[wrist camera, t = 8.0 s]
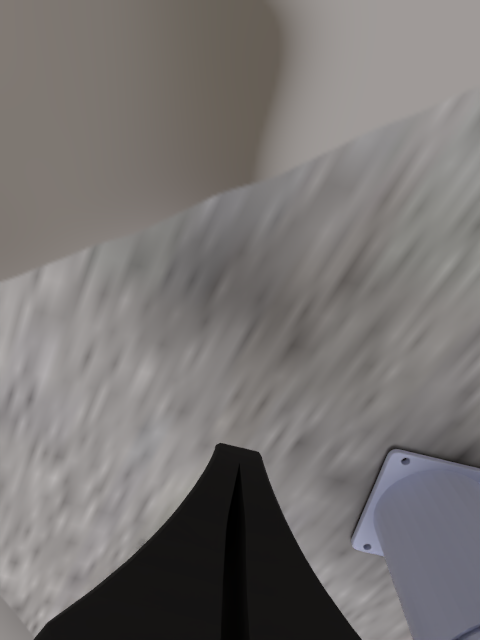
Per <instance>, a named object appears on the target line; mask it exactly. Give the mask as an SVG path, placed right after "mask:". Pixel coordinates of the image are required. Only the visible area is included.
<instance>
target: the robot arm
mask: <svg viewBox="0 0 480 640" xmlns="http://www.w3.org/2000/svg"><path fill="white" fill-rule="evenodd" d="M404 458H407V459H406V460H405V461H401V460H402V459H404ZM351 543H352V546H353V548H354V549H356V550H359V551H363V552H368V553H372V554H376V555H380V556H384V557H385V560H386V563H387V566H388V569H389V571H390V574H391V577H392V580H393V583H394V586H395V589H396V592H397V594H398V597H399V600H400V603H401V606H402V609H403V612H404V615H405V617H406V620H407V623H408V626H409V629H410V632H411V635H412V637H413V640H480V468H476V467H471V466H467V465H463V464H459V463H455V462H450V461H446V460H442V459H438V458H434V457H429V456H425V455H421V454H417V453H413V452H408V451H404V450H400V449H393V450H391V451H390V452H389V453H388V455H387V457H386V459H385V462H384V464H383V466H382V469H381V471H380V473H379V476H378V478H377V480H376V483H375V485H374V487H373V490H372V492H371V494H370V497H369V499H368V501H367V504H366V506H365V508H364V511H363V513H362V515H361V518H360V520H359V522H358V525H357V527H356V529H355V532H354V534H353V536H352V539H351ZM365 544H367V545H365ZM34 640H362V639H361V638H360V637H359V635H358V634H357V633H356V632H355V630H354V629H353V628H352V627H351V625H350V624H349V623H348V621H347V620H346V618H345V617H344V616H343V614H342V613H341V611H340V610H339V609H338V607H337V606H336V604H335V603H334V602H333V600H332V599H331V597H330V596H329V595H328V593H327V592H326V590H325V589H324V587H323V586H322V584H321V583H320V581H319V579H318V578H317V576H316V575H315V573H314V572H313V570H312V568H311V566H310V565H309V563H308V561H307V560H306V558H305V556H304V555H303V553H302V551H301V549H300V547H299V545H298V544H297V542H296V540H295V538H294V536H293V534H292V532H291V530H290V528H289V526H288V524H287V522H286V520H285V517H284V515H283V513H282V511H281V508H280V506H279V504H278V501H277V499H276V497H275V494H274V492H273V489H272V487H271V484H270V481H269V479H268V476H267V473H266V470H265V467H264V464H263V460H262V457H261V455H260V453H259V452H257V451H252V450H248V449H244V448H240V447H236V446H231V445H227V444H223V443H219V444H217V445H216V446H215V450H214V453H213V455H212V457H211V460H210V461H209V463H208V465H207V467H206V469H205V470H204V472H203V474H202V475H201V477H200V478H199V480H198V481H197V483H196V484H195V486H194V487H193V489H192V490H191V491H190V493H189V494H188V495H187V497H186V498H185V499H184V501H183V502H182V503H181V505H180V506H179V507H178V508H177V510H176V511H175V512H174V513H173V514H172V516H171V517H170V518H169V519H168V520H167V521H166V522H165V524H164V525H163V526H162V527H161V528H160V529H159V530H158V531H157V532H156V533H155V534H154V535H153V536H152V537H151V538H150V539H149V540H148V541H147V542H146V543H145V544H144V545H143V546H142V547H141V548H140V549H139V550H138V551H137V552H136V553H135V554H134V555H133V556H132V557H131V558H130V559H128V560H127V561H126V562H125V563H124V564H123V565H121V566H120V567H119V568H118V569H117V570H116V571H114V572H113V573H112V574H111V575H110V576H108V577H107V578H106V579H105V580H104V581H102V582H101V583H100V584H99V585H98V586H96V587H95V588H94V589H93V590H91V591H90V592H89V593H87V594H86V595H85V596H83V597H82V598H81V599H79V600H78V601H76V602H75V603H74V604H72V605H71V606H70V607H68V608H67V609H65V610H64V611H63V612H61V613H60V614H58V615H57V616H56V617H54V618H53V619H52V620H50V621H49V622H48V623H47V624H46V625H45V626H44V627H43V629H42V630H41V631H40V632H39V634H38V635H37V636H36V637H35V639H34Z"/></svg>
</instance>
